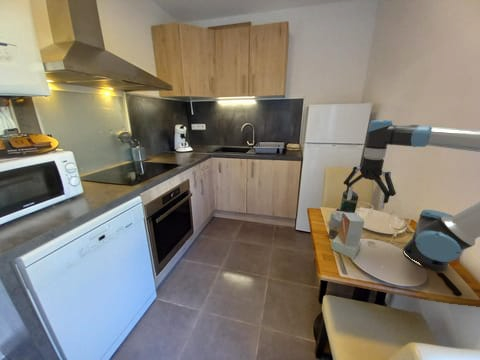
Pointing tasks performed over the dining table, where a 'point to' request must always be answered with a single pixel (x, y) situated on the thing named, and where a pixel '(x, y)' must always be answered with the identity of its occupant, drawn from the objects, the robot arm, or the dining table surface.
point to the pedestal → (345, 248)
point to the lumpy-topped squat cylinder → (336, 218)
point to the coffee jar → (349, 203)
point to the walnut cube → (333, 232)
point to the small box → (351, 229)
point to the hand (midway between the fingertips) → (364, 204)
